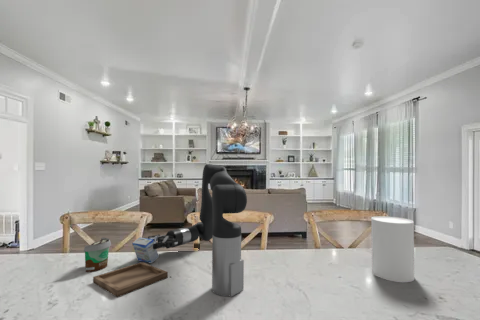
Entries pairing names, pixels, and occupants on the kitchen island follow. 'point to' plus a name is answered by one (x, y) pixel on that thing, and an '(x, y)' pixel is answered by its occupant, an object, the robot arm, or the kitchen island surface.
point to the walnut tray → (129, 278)
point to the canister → (393, 248)
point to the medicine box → (145, 250)
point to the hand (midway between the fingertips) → (147, 244)
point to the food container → (97, 255)
